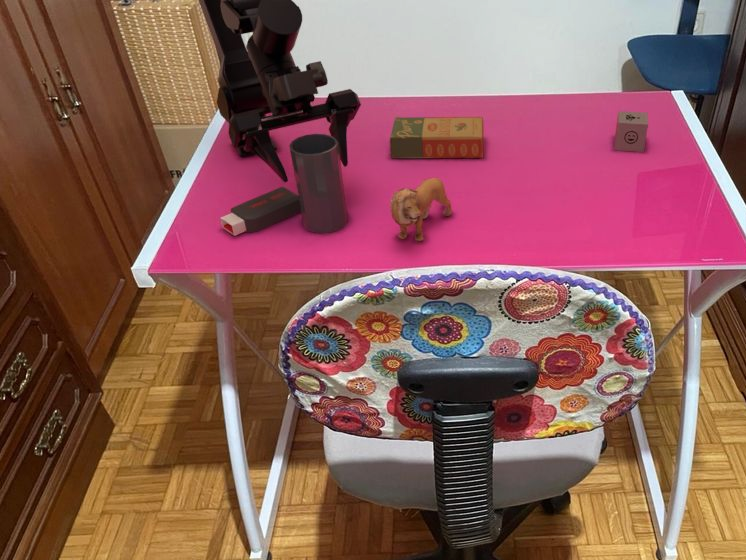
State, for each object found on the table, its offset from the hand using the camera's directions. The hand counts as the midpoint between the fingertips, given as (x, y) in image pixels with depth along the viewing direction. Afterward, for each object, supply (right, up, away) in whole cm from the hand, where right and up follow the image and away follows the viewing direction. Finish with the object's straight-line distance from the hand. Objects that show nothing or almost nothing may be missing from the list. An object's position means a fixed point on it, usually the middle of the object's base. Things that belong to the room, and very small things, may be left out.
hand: (316, 173), depth 104 cm
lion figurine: (+15, -8, +3) cm, 18 cm away
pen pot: (0, -6, +5) cm, 8 cm away
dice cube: (+51, +11, +24) cm, 57 cm away
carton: (+17, +10, +24) cm, 31 cm away
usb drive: (-9, -6, +6) cm, 13 cm away
